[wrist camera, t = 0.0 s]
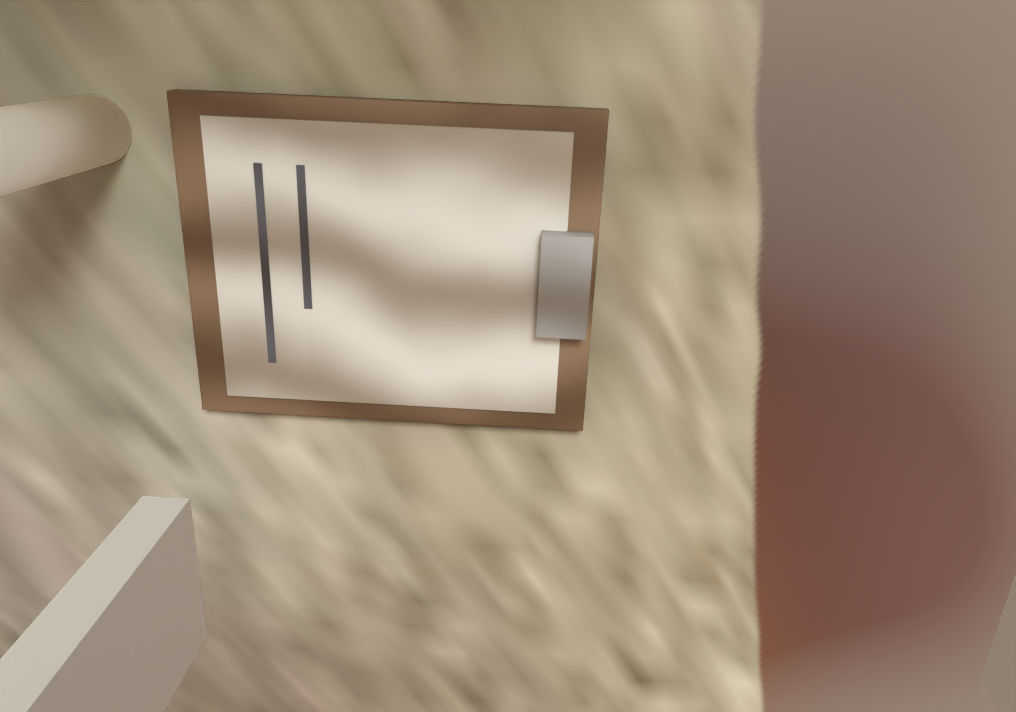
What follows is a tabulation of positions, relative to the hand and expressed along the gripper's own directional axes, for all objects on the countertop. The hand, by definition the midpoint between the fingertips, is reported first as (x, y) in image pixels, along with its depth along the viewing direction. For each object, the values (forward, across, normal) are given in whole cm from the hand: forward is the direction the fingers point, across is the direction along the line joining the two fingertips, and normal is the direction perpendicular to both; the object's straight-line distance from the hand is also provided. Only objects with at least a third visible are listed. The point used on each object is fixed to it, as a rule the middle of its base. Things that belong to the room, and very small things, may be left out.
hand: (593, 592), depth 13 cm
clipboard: (+28, -8, -3) cm, 29 cm away
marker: (+28, -22, +3) cm, 36 cm away
